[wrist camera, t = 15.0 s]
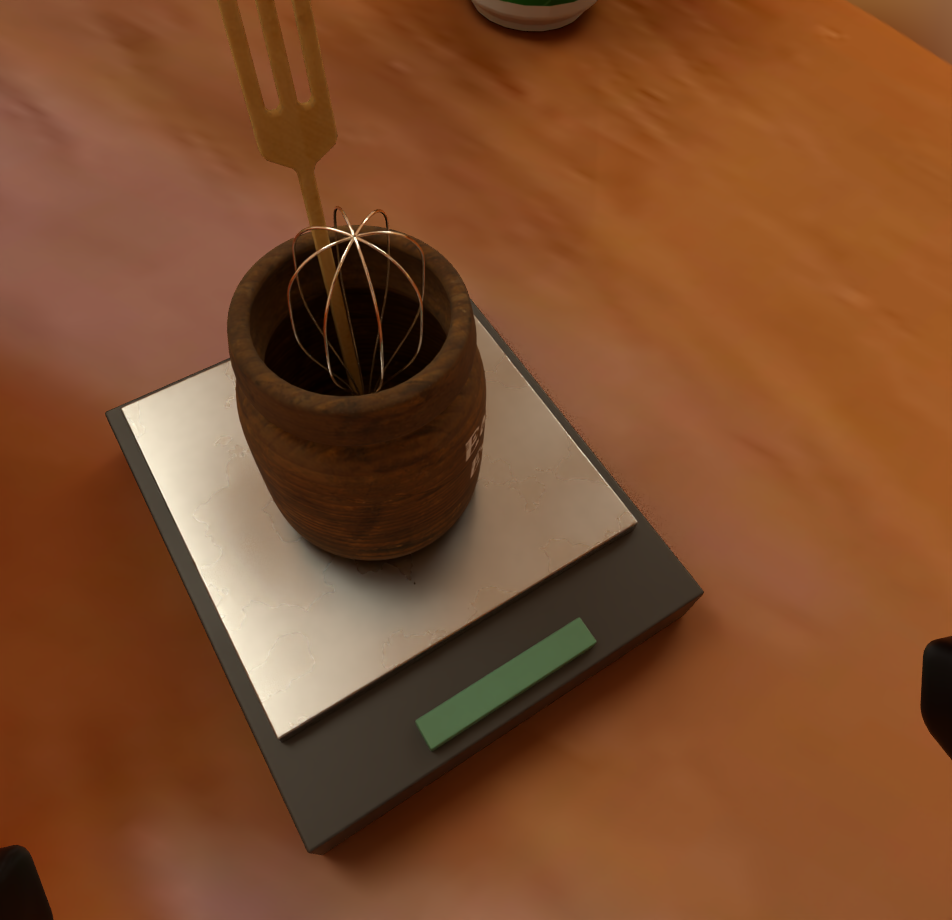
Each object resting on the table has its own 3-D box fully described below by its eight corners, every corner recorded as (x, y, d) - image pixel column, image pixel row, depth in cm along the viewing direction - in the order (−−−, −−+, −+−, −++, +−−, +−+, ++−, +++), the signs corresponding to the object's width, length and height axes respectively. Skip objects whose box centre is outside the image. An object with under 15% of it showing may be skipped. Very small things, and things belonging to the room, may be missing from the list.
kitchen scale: (685, 614, 22) (711, 585, 20) (320, 856, 19) (304, 853, 17) (443, 302, 28) (443, 253, 26) (127, 444, 24) (96, 402, 22)
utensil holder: (306, 603, 19) (146, 284, 9) (246, 412, 22) (69, -2, 12) (513, 526, 21) (585, 169, 10) (432, 355, 23) (423, -64, 13)
